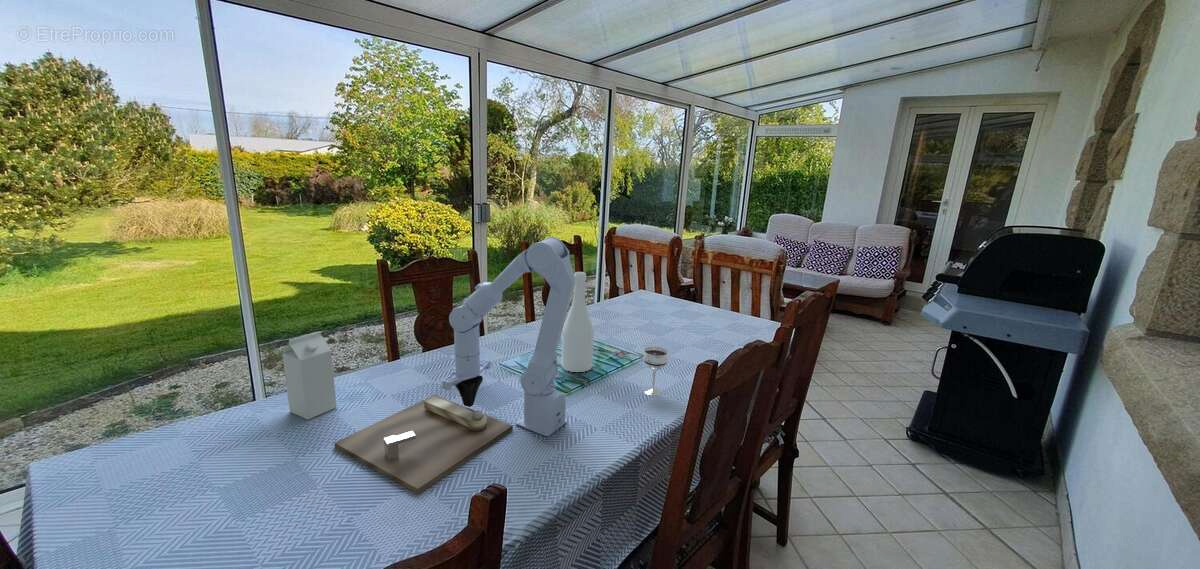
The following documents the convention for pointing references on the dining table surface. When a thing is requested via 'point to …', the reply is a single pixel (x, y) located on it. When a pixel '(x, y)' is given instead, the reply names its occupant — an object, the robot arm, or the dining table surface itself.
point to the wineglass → (654, 365)
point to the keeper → (396, 444)
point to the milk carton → (309, 376)
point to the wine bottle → (578, 331)
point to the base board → (421, 445)
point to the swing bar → (457, 413)
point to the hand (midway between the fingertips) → (468, 404)
